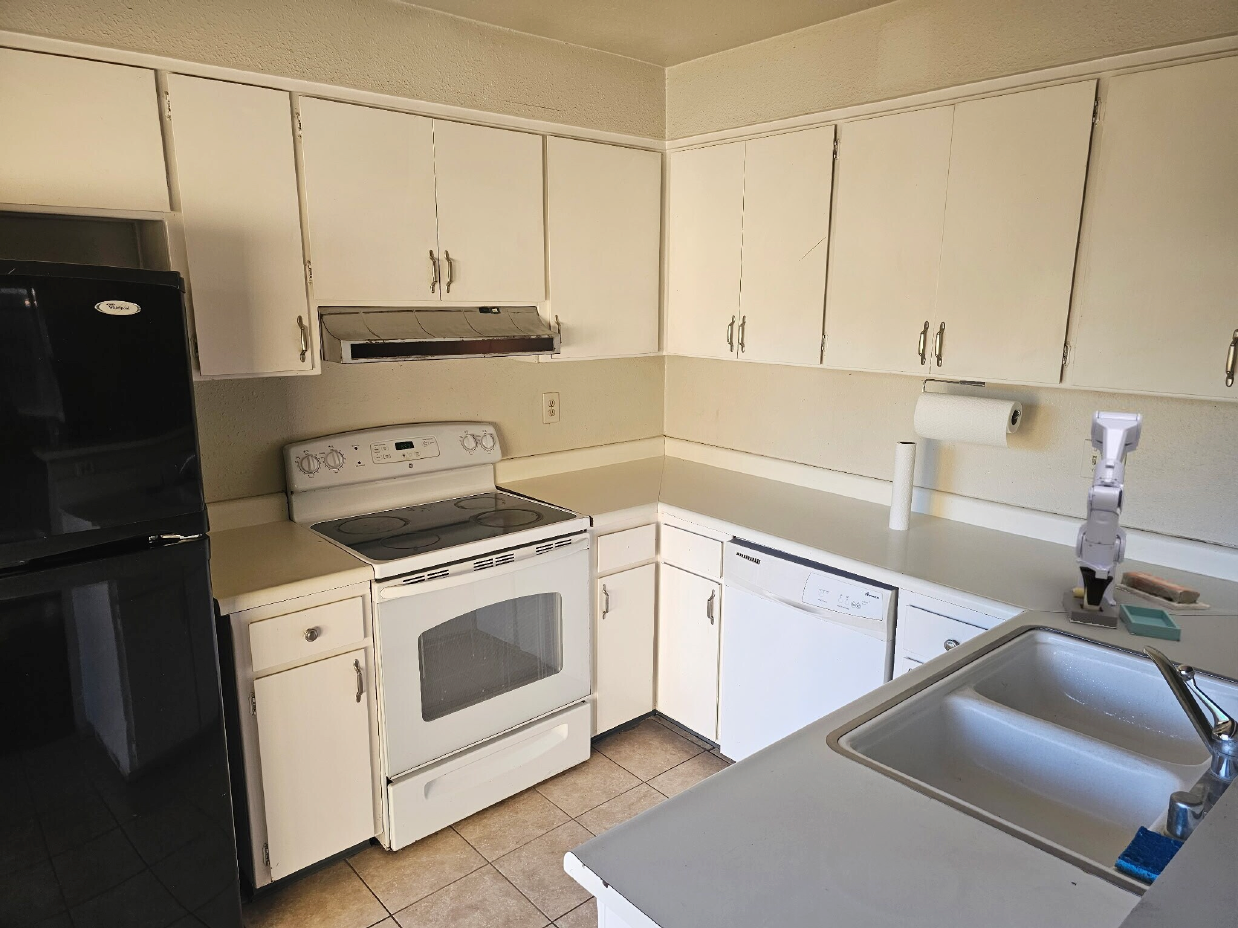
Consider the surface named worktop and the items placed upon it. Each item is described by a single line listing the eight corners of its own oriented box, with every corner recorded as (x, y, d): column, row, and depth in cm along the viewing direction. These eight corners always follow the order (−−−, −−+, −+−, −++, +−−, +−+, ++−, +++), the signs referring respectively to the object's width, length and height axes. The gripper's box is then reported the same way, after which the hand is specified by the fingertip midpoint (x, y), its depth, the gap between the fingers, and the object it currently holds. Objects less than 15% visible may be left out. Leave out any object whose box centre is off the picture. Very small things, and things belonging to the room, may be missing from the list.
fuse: (1081, 614, 178) (1085, 583, 177) (1097, 616, 177) (1101, 585, 176) (1083, 618, 175) (1087, 586, 174) (1099, 620, 174) (1103, 588, 173)
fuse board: (1062, 601, 188) (1064, 583, 187) (1104, 607, 184) (1107, 588, 184) (1070, 622, 173) (1073, 601, 172) (1116, 629, 170) (1119, 608, 169)
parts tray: (1118, 614, 180) (1120, 603, 180) (1163, 621, 177) (1165, 609, 176) (1130, 633, 167) (1132, 622, 167) (1179, 641, 164) (1181, 629, 164)
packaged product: (1114, 570, 202) (1148, 569, 204) (1112, 588, 202) (1146, 588, 204) (1177, 591, 184) (1213, 590, 186) (1174, 612, 185) (1210, 611, 187)
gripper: (1074, 532, 182) (1067, 591, 184) (1083, 546, 168) (1075, 609, 170) (1110, 536, 179) (1102, 596, 181) (1122, 550, 166) (1113, 614, 168)
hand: (1091, 602), depth 176 cm, fingers closed on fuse, 3 cm apart
